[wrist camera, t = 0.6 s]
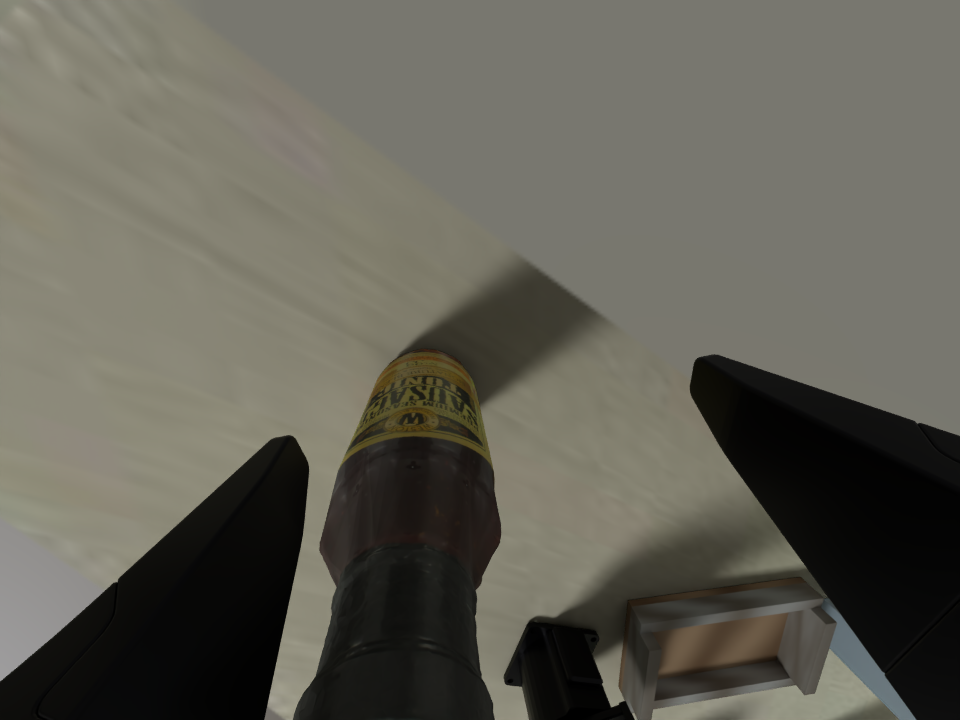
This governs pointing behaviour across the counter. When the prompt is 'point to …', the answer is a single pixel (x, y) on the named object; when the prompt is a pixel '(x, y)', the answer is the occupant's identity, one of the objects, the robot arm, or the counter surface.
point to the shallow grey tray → (723, 644)
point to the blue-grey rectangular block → (863, 664)
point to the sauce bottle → (409, 552)
